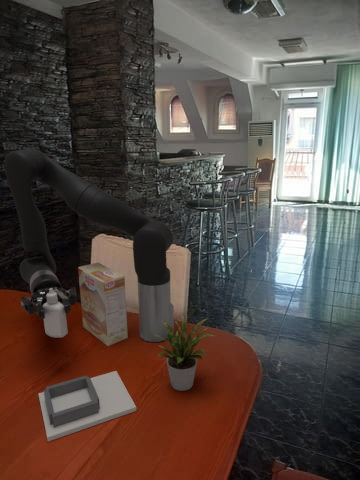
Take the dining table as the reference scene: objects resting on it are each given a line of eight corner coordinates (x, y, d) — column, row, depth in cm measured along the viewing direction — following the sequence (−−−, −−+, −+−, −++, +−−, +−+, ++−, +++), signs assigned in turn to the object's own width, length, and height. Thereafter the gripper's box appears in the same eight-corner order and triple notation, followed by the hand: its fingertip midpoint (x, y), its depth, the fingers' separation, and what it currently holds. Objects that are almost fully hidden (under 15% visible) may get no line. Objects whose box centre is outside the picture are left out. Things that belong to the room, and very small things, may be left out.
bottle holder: (116, 374, 91) (115, 361, 90) (136, 410, 79) (135, 396, 78) (38, 397, 83) (37, 383, 82) (47, 441, 71) (45, 426, 70)
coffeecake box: (82, 326, 113) (76, 267, 108) (102, 319, 118) (98, 261, 112) (107, 347, 102) (102, 281, 97) (128, 338, 107) (125, 275, 101)
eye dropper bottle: (51, 341, 87) (45, 295, 84) (44, 332, 91) (37, 287, 88) (69, 335, 90) (64, 290, 86) (61, 326, 94) (55, 282, 90)
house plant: (223, 371, 91) (225, 312, 87) (209, 410, 79) (211, 342, 74) (169, 361, 96) (168, 303, 91) (148, 395, 83) (146, 330, 79)
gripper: (14, 278, 97) (20, 304, 82) (70, 269, 103) (84, 291, 88) (18, 304, 99) (24, 334, 84) (73, 294, 105) (87, 319, 90)
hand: (55, 312), depth 86 cm, fingers closed on eye dropper bottle, 4 cm apart
